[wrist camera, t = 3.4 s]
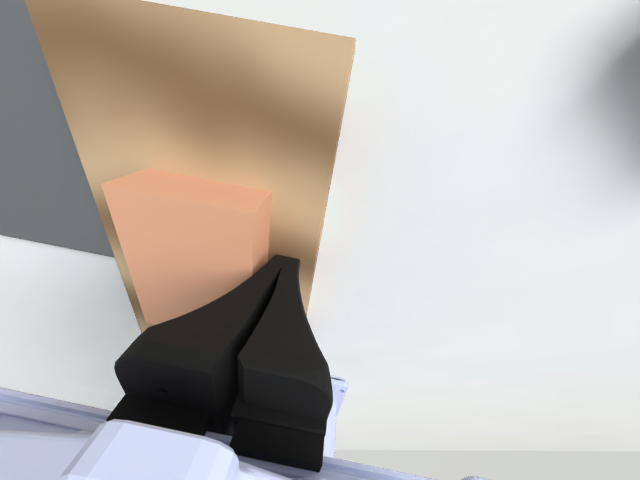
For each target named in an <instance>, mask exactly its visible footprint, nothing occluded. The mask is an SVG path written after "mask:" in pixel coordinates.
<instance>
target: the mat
mask: <svg viewBox="0 0 640 480" xmlns="http://www.w3.org/2000/svg"><path fill="white" fill-rule="evenodd" d="M0 235H4V236H9V237H14V238H19V239H24V240H29V241H34V242H39V243H44V244H50V245H55V246H60V247H65V248H70V249H75V250H80V251H85V252H90V253H95V254H100V255H105V256H110V257H115V256H114V253H113V250H112V248H111V245H110V242H109V239H108V236H107V233H106V231H105V228H104V225H103V222H102V219H101V216H100V213H99V211H98V208H97V205H96V202H95V199H94V196H93V194H92V191H91V188H90V185H89V182H88V179H87V177H86V174H85V171H84V168H83V165H82V162H81V160H80V157H79V154H78V151H77V148H76V145H75V142H74V140H73V137H72V134H71V131H70V128H69V125H68V123H67V120H66V117H65V114H64V111H63V108H62V106H61V103H60V100H59V97H58V94H57V91H56V88H55V86H54V83H53V80H52V77H51V74H50V71H49V69H48V66H47V63H46V60H45V57H44V54H43V52H42V49H41V46H40V43H39V40H38V37H37V35H36V32H35V29H34V26H33V23H32V20H31V17H30V15H29V12H28V9H27V6H26V3H25V0H0Z"/></svg>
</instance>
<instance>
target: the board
mask: <svg viewBox="0 0 640 480" xmlns="http://www.w3.org/2000/svg"><path fill="white" fill-rule="evenodd" d="M25 3H26V6H27V9H28V12H29V15H30V17H31V20H32V23H33V26H34V29H35V32H36V35H37V37H38V40H39V43H40V46H41V49H42V52H43V54H44V57H45V60H46V63H47V66H48V69H49V71H50V74H51V77H52V80H53V83H54V86H55V88H56V91H57V94H58V97H59V100H60V103H61V106H62V108H63V111H64V114H65V117H66V120H67V123H68V125H69V128H70V131H71V134H72V137H73V140H74V142H75V145H76V148H77V151H78V154H79V157H80V160H81V162H82V165H83V168H84V171H85V174H86V177H87V179H88V182H89V185H90V188H91V191H92V194H93V196H94V199H95V202H96V205H97V208H98V211H99V213H100V216H101V219H102V222H103V225H104V228H105V231H106V233H107V236H108V239H109V242H110V245H111V248H112V250H113V253H114V256H115V259H116V262H117V265H118V267H119V270H120V273H121V276H122V279H123V282H124V285H125V287H126V290H127V293H128V296H129V299H130V302H131V304H132V307H133V310H134V313H135V316H136V319H137V321H138V324H139V327H140V330H141V333H143V332H144V331H145V330H146V329H147V328H148V327H150V326H154V325H155V324H150V323H146V321H145V318H144V315H143V312H142V309H141V306H140V303H139V300H138V297H137V294H136V291H135V288H134V284H133V281H132V278H131V275H130V272H129V269H128V266H127V263H126V260H125V257H124V254H123V251H122V248H121V244H120V241H119V238H118V235H117V232H116V229H115V226H114V223H113V220H112V217H111V214H110V211H109V208H108V204H107V201H106V198H105V195H104V192H103V189H102V186H101V184H102V183H105V182H108V181H111V180H114V179H117V178H120V177H123V176H126V175H129V174H132V173H135V172H138V171H141V170H144V169H146V168H151V169H156V170H161V171H166V172H172V173H177V174H182V175H187V176H193V177H198V178H203V179H208V180H213V181H219V182H224V183H229V184H234V185H240V186H245V187H250V188H255V189H260V190H266V191H271V192H272V198H271V216H270V234H269V253H268V261H269V260H270V259H271V258H272V257H273V256H275V255H276V254H277V255H282V256H287V257H292V258H297V259H299V260H300V268H299V285H300V292H301V297H302V302H303V306H304V310H305V314H306V315H307V310H308V304H309V299H310V293H311V288H312V282H313V277H314V271H315V266H316V261H317V255H318V250H319V244H320V239H321V233H322V228H323V222H324V217H325V211H326V206H327V200H328V195H329V189H330V184H331V178H332V173H333V167H334V162H335V156H336V151H337V145H338V140H339V135H340V129H341V124H342V118H343V113H344V107H345V102H346V96H347V91H348V85H349V80H350V74H351V69H352V63H353V58H354V52H355V39H356V38H350V37H345V36H339V35H333V34H328V33H322V32H317V31H311V30H305V29H300V28H294V27H288V26H283V25H277V24H271V23H266V22H260V21H254V20H249V19H243V18H237V17H232V16H226V15H221V14H215V13H209V12H204V11H198V10H192V9H187V8H181V7H175V6H170V5H164V4H158V3H153V2H147V1H142V0H25Z"/></svg>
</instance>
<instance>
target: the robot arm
mask: <svg viewBox="0 0 640 480" xmlns="http://www.w3.org/2000/svg"><path fill="white" fill-rule="evenodd" d="M299 268H300V260H299V259H297V258H292V257H287V256H282V255H277V254H276V255H275V256H273V257H272V258H271V259H270V260H269V261H268V262H267V263H266V264H265V265H264V266H263V267H262V268H261V269H259V270H258V271H257V272H256V273H255V274H253V275H252V276H251V277H250V278H248V279H247V280H245V281H244V282H243V283H241V284H240V285H239V286H237V287H236V288H234V289H233V290H231V291H230V292H228V293H226V294H225V295H223V296H221V297H220V298H218V299H216V300H214V301H212V302H210V303H208V304H206V305H204V306H202V307H200V308H198V309H196V310H194V311H191V312H189V313H187V314H184V315H182V316H179V317H176V318H174V319H171V320H168V321H165V322H162V323H159V324H157V325H154V326H150V327H148V328H147V329H146V330H145V331H144V332H143V333H142V334H141V335H140V336H138V338H137V339H136V340H135V341H134V342H133V343H132V344H131V345H130V346H129V348H128V349H127V350H126V351H125V352H124V353H123V354H122V355H121V357H120V358H119V359H118V360H117V361H116V362H115V367H114V368H115V373H116V376H117V378H118V380H119V382H120V384H121V386H122V388H123V390H124V392H125V396H124V397H123V398H122V400H121V401H120V402H119V403H118V405H117V406H116V407H115V409H114V410H113V411H109V410H104V409H99V408H95V407H90V406H85V405H80V404H76V403H71V402H66V401H61V400H57V399H52V398H47V397H43V396H38V395H33V394H28V393H24V392H19V391H14V390H9V389H5V388H0V480H435V479H431V478H426V477H421V476H416V475H412V474H407V473H402V472H397V471H392V470H388V469H383V468H379V467H374V466H369V465H364V464H360V463H355V462H350V461H345V460H341V459H336V458H334V454H335V434H336V417H337V414H338V412H339V409H340V407H341V404H342V402H343V399H344V397H345V394H346V392H347V389H348V384H347V383H346V382H344V381H340V380H335V379H331V377H330V372H329V367H328V364H327V362H326V360H325V358H324V356H323V354H322V352H321V351H320V349H319V347H318V344H317V342H316V340H315V338H314V335H313V333H312V330H311V328H310V325H309V323H308V320H307V317H306V314H305V310H304V306H303V302H302V297H301V292H300V285H299ZM461 480H490V479H485V478H481V477H474V476H469V477H465V478H463V479H461Z"/></svg>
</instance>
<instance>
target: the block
mask: <svg viewBox="0 0 640 480" xmlns="http://www.w3.org/2000/svg"><path fill="white" fill-rule="evenodd" d="M101 186H102V189H103V192H104V195H105V198H106V201H107V204H108V208H109V211H110V214H111V217H112V220H113V223H114V226H115V229H116V232H117V235H118V238H119V241H120V244H121V248H122V251H123V254H124V257H125V260H126V263H127V266H128V269H129V272H130V275H131V278H132V281H133V284H134V288H135V291H136V294H137V297H138V300H139V303H140V306H141V309H142V312H143V315H144V318H145V321H146V323H150V324H155V325H157V324H159V323H162V322H165V321H168V320H171V319H174V318H176V317H179V316H182V315H184V314H187V313H189V312H191V311H194V310H196V309H198V308H200V307H202V306H204V305H206V304H208V303H210V302H212V301H214V300H216V299H218V298H220V297H221V296H223V295H225V294H226V293H228V292H230V291H231V290H233V289H234V288H236V287H237V286H239V285H240V284H241V283H243V282H244V281H245V280H247V279H248V278H250V277H251V276H252V275H253V274H255V273H256V272H257V271H258V270H259V269H261V268H262V267H263V266H264V265H265V264H266V263H267V262H268V253H269V234H270V216H271V198H272V192H271V191H266V190H260V189H255V188H250V187H245V186H240V185H234V184H229V183H224V182H219V181H213V180H208V179H203V178H198V177H193V176H187V175H182V174H177V173H172V172H166V171H161V170H156V169H151V168H146V169H144V170H141V171H138V172H135V173H132V174H129V175H126V176H123V177H120V178H117V179H114V180H111V181H108V182H105V183H102V184H101Z"/></svg>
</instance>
